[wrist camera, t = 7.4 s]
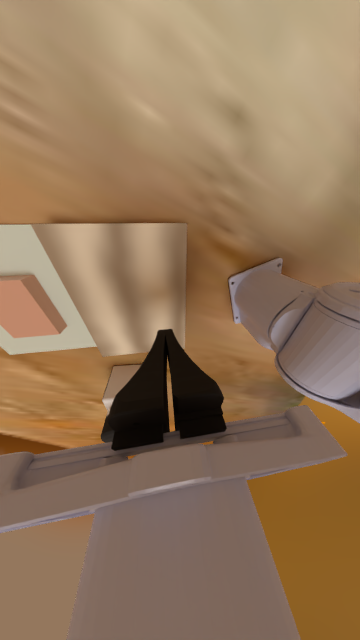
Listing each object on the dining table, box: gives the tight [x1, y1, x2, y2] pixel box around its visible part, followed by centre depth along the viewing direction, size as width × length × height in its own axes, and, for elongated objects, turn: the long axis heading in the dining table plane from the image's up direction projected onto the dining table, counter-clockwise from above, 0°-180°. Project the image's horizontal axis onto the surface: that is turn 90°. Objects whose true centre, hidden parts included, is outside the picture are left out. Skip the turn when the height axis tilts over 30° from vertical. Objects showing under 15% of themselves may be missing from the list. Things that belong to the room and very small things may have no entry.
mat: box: [0, 225, 97, 355], centre depth 18 cm, size 16×18×1 cm
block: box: [0, 275, 67, 338], centre depth 17 cm, size 6×8×2 cm
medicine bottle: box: [101, 364, 142, 443], centre depth 26 cm, size 7×7×12 cm
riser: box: [31, 223, 187, 357], centre depth 19 cm, size 14×18×3 cm
